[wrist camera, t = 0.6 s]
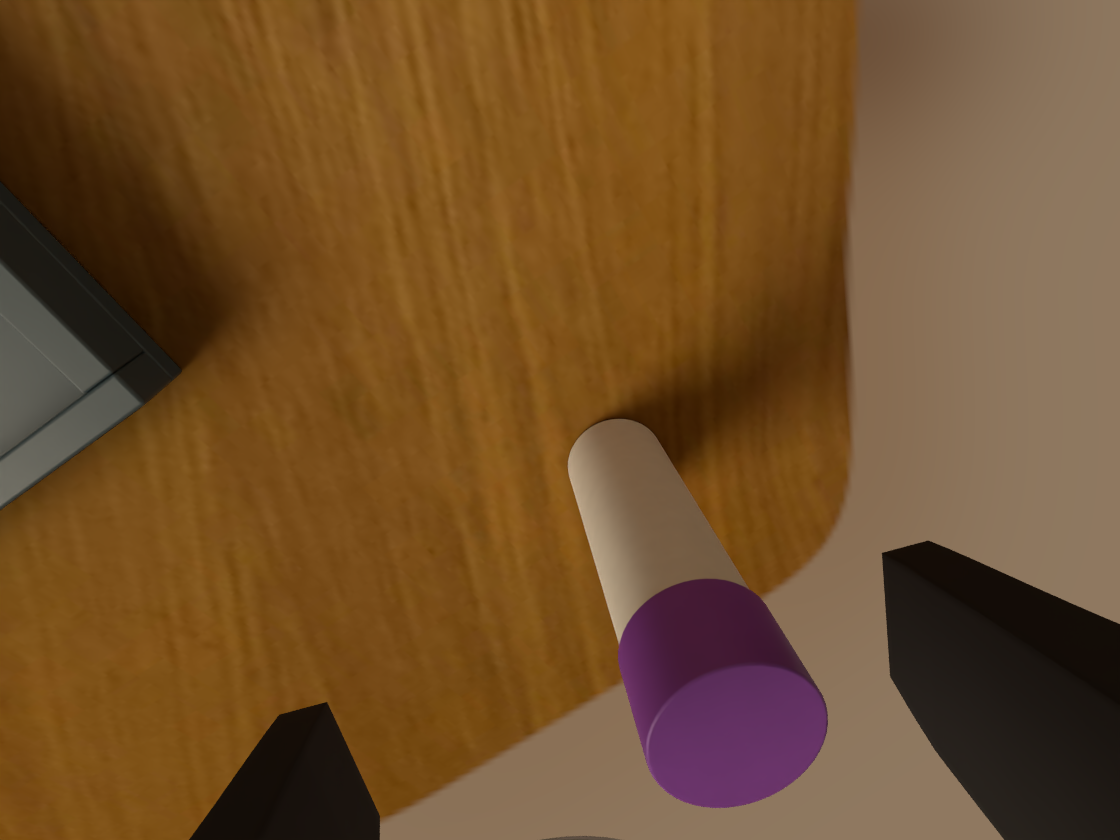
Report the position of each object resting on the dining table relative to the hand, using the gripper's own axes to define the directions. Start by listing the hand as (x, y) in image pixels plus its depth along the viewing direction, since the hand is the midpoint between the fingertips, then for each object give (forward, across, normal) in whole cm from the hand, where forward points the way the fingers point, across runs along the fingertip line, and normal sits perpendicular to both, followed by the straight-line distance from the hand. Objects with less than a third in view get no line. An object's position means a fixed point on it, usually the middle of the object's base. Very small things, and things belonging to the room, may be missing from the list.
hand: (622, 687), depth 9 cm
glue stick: (+9, -1, +2) cm, 9 cm away
